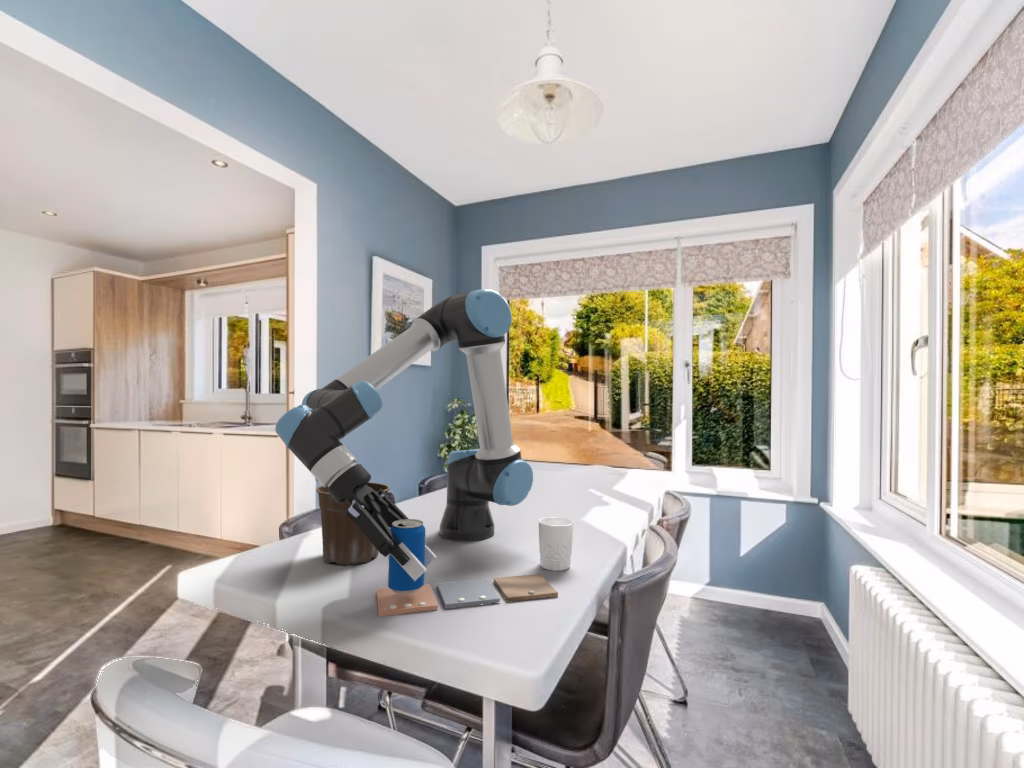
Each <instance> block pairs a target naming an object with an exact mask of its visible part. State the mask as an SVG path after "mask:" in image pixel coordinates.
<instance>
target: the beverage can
mask: <svg viewBox="0 0 1024 768" xmlns="http://www.w3.org/2000/svg"><path fill="white" fill-rule="evenodd" d="M392 525H393V526H392V527H391V529H390V530H391V531H392V533H393V534H394V536H395V537H396V539H397V540H398V542H399V545H400V544H401V543H403V544H404V545H405V546H406V547H407V548H408V549H409V550H410V551H411V552H412V553H413V554H414V556H415V557H416V558H417V559H418V560H419V561H420V562H421V563H422V564H423V566H425V545H426V527H425V526H424V521H422V520H421V519H415V518H408V519H403V520H397V521H394V522H393V523H392ZM387 572H388V573H387V574H388V575H387V588H390V589H391V590H392V591H393V592H395V593H398V594H410V593H414V592H416V591H418V590H419V589H420V588H421V587H422V586H423V585H425V572H424V573H423V574H422V575H421V576H420V577H419V578H418V579H417V580H416V581H414V580H413V579H412V578H411V576H410V575H409V574H408V573H407V572H406V571H405V570H404V569H403V568H402V566H401V565H400V564H399V563H398V562H397V561H396V560H395V559H394V557H393V556H392V555H391V554H388V571H387Z"/></svg>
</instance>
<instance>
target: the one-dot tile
mask: <svg viewBox="0 0 1024 768" xmlns="http://www.w3.org/2000/svg"><path fill="white" fill-rule="evenodd" d="M493 583H494V585H495V584H496V585H495V586H496V588H497V587H498V588H499V589H498V588H497V589H498V591H499V590H500V591H501V592H500V591H499V592H500V593H501V595H502V594H503V595H502V597H503V598H504V597H505V598H506V599H505V598H504V599H505V601H506V600H507V601H513V602H517V601H516V600H523V601H528V600H527V599H532V600H537V599H536V598H541V599H546V598H545V597H550V598H556V597H555V596H558V597H559V592H558V590H557V589H555V588H554V587H553V586H552V584H550V583H549V581H547V579H545V578H544V577H543V576H542V574H540V573H535V574H533V573H532V574H523V575H513V576H502V577H494V578H493ZM507 601H506V602H507Z"/></svg>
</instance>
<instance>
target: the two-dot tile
mask: <svg viewBox="0 0 1024 768" xmlns="http://www.w3.org/2000/svg"><path fill="white" fill-rule="evenodd" d="M436 584H437V587H436V588H437V591H438V590H439V591H438V593H439V596H440V598H441V601H442V603H444V604H443V606H444V608H445V609H446V610H449V609H456V607H458V608H465V607H464V606H468V607H473V606H472V605H477V606H482V605H481V604H486V605H490V604H489V603H495V604H498V603H497V602H500V603H501V598H500V597H499V595H498V593H497V592H496V591H495V589H494V588H493V586H492V585H491V583H490V581H489V580H488V579H487V578H481V579H479V578H478V579H472V580H471V579H469V580H460V581H449V582H437V583H436Z"/></svg>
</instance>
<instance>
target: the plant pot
mask: <svg viewBox="0 0 1024 768" xmlns="http://www.w3.org/2000/svg"><path fill="white" fill-rule="evenodd" d="M368 486H370V487H371V488H372V489H373V490H375V491H376V492H378V491H379V490H380V489H382V490H383V491H384V492H385V494H386V495H387V496H388V492H389V491H390V488H391V486H390V485H388V484H384V483H379V482H373V481H372V482H371V481H369V482H368ZM328 488H329V487H323V486H322V485H320V486H318V487H317V488H316V489H315V491H316V493H318V507H319V508H320V517H321V518H320V519H321V538H322V540H321V541H322V558H323V561H325V562H326V563H329V564H332V563H336V564H337V565H346V566H347V565H349V566H350V565H359V564H362V563H367V562H369V561H371V560H372V559H376V558H377V557H378V555H379V551H378V550H377V549H376V548H375V546H374V545H373V544H372V543H371V541H370V540H369V539H368V538H367V537H366V535H365V534H364V533H363V532H362V531H361V529H360V528H359V527H358V526H357V525H356V523H355V522H354V521H353V520H352V519H350V518H349V517H348V516H347V515H346V514H345V512H346V511H347V510H348V509H349V508H350V506H349V504H348V502H345V503H343V504H338V503H337V502H336V501H335V499H334V498H333V497H332V496H331V495H330V494H329V493H328Z"/></svg>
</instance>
